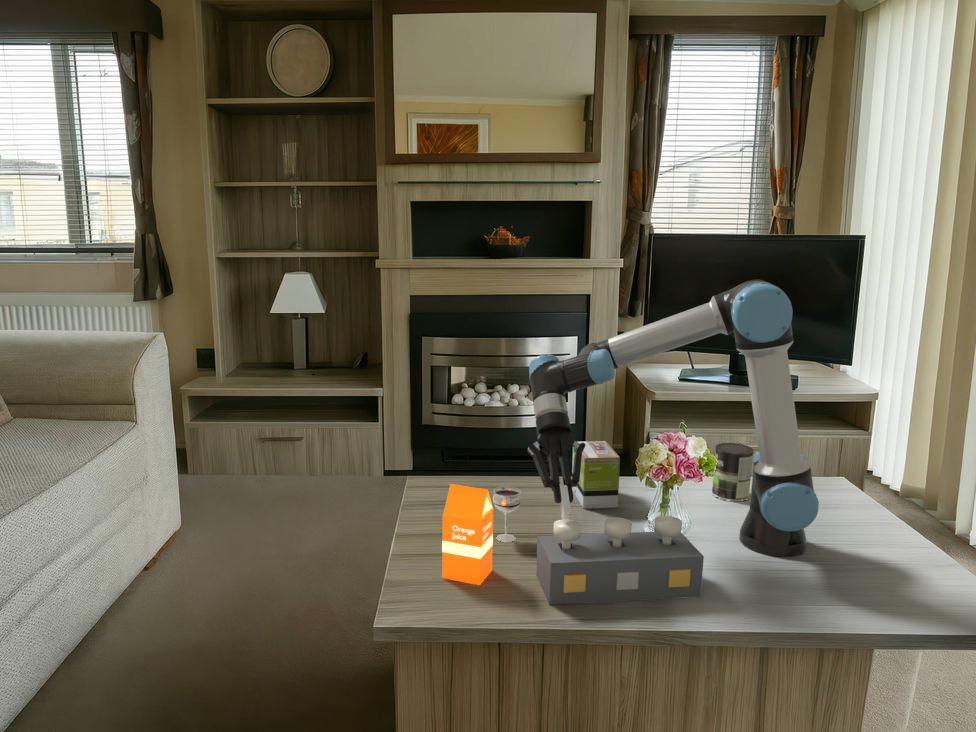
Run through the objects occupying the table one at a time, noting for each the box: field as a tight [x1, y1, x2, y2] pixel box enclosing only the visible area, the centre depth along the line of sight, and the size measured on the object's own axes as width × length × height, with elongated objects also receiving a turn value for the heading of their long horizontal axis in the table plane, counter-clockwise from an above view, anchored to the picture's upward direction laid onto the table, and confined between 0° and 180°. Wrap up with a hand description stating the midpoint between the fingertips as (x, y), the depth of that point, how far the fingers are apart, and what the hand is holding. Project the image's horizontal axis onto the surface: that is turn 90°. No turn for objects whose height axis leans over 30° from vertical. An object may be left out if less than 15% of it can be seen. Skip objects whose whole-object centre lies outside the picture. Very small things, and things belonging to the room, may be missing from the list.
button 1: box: [552, 518, 582, 549], centre depth 158 cm, size 6×6×7 cm
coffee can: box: [711, 442, 755, 502], centre depth 214 cm, size 10×10×14 cm
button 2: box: [653, 515, 683, 545], centre depth 161 cm, size 6×6×7 cm
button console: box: [535, 531, 705, 606], centre depth 160 cm, size 32×13×9 cm, turn 98°
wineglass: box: [492, 485, 522, 543], centre depth 182 cm, size 7×7×12 cm
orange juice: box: [441, 483, 494, 586], centre depth 163 cm, size 8×9×20 cm
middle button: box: [603, 516, 633, 547], centre depth 160 cm, size 6×6×7 cm
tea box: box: [571, 440, 621, 510], centre depth 209 cm, size 15×10×15 cm
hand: (566, 516), depth 158 cm, fingers closed
